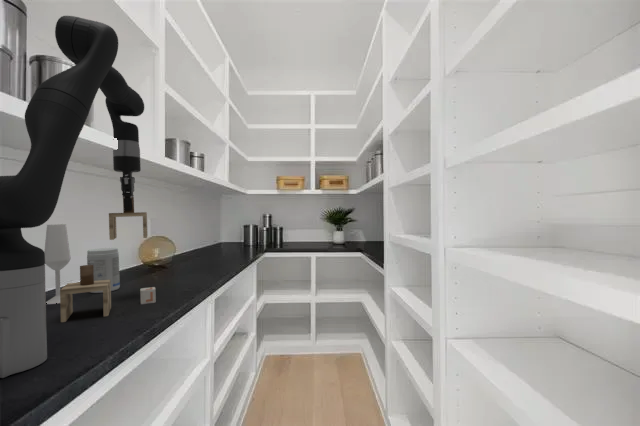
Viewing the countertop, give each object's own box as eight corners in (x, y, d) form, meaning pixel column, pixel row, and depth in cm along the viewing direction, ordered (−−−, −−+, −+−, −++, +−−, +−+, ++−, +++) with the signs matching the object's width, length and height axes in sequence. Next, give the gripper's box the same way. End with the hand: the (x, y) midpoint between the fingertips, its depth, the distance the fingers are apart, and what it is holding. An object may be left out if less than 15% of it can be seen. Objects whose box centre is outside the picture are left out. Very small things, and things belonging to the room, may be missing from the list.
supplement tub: (111, 286, 129) (110, 247, 129) (125, 289, 124) (124, 248, 124) (82, 292, 120) (81, 250, 120) (96, 294, 115) (95, 251, 115)
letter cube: (155, 302, 103) (155, 289, 103) (140, 304, 101) (140, 290, 101) (155, 299, 107) (154, 286, 107) (140, 301, 105) (140, 288, 105)
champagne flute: (51, 299, 110) (49, 224, 110) (75, 297, 111) (73, 224, 112) (39, 304, 103) (38, 225, 103) (65, 302, 105) (63, 224, 105)
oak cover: (146, 237, 107) (145, 196, 107) (109, 239, 103) (108, 196, 102) (147, 235, 116) (146, 197, 116) (113, 237, 112) (111, 197, 111)
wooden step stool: (108, 316, 90) (107, 266, 90) (60, 322, 85) (59, 269, 85) (111, 307, 98) (110, 261, 98) (68, 312, 94) (67, 265, 94)
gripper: (139, 153, 104) (141, 210, 105) (140, 160, 117) (142, 210, 117) (110, 152, 101) (112, 211, 101) (115, 159, 114) (117, 211, 114)
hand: (128, 210), depth 109 cm, fingers closed on oak cover, 3 cm apart
